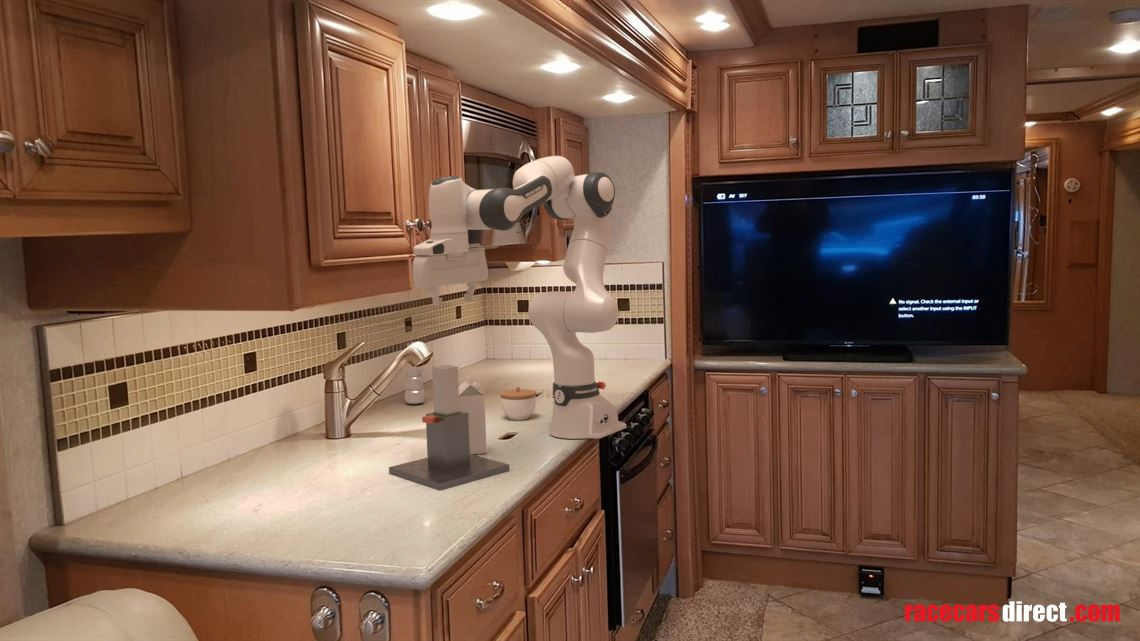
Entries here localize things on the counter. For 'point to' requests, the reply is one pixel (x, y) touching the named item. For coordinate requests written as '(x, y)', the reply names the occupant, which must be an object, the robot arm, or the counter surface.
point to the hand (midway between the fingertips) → (453, 303)
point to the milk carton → (474, 415)
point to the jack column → (445, 390)
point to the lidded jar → (518, 403)
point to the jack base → (448, 456)
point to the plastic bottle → (414, 384)
